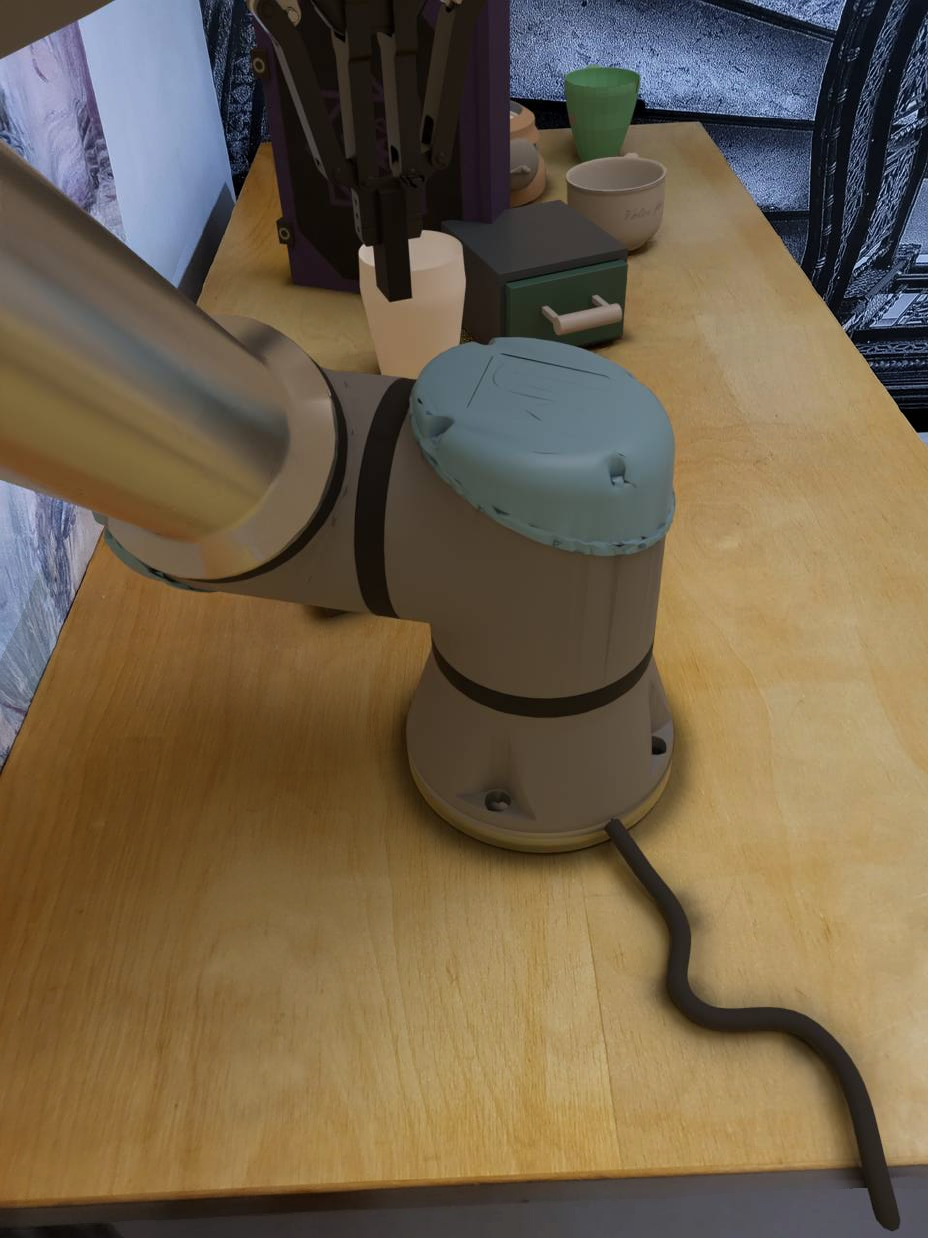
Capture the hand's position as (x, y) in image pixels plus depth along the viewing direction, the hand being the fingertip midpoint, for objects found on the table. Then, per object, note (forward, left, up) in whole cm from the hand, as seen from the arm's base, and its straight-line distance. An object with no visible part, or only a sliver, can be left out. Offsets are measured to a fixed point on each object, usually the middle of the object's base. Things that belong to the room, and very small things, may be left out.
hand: (394, 291), depth 63 cm
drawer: (+23, -22, -17) cm, 36 cm away
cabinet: (+27, -22, -18) cm, 39 cm away
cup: (+21, -8, -18) cm, 29 cm away
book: (+41, -13, -19) cm, 47 cm away
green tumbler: (+70, -52, -18) cm, 89 cm away
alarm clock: (+62, -31, -18) cm, 72 cm away
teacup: (+42, -40, -18) cm, 61 cm away
